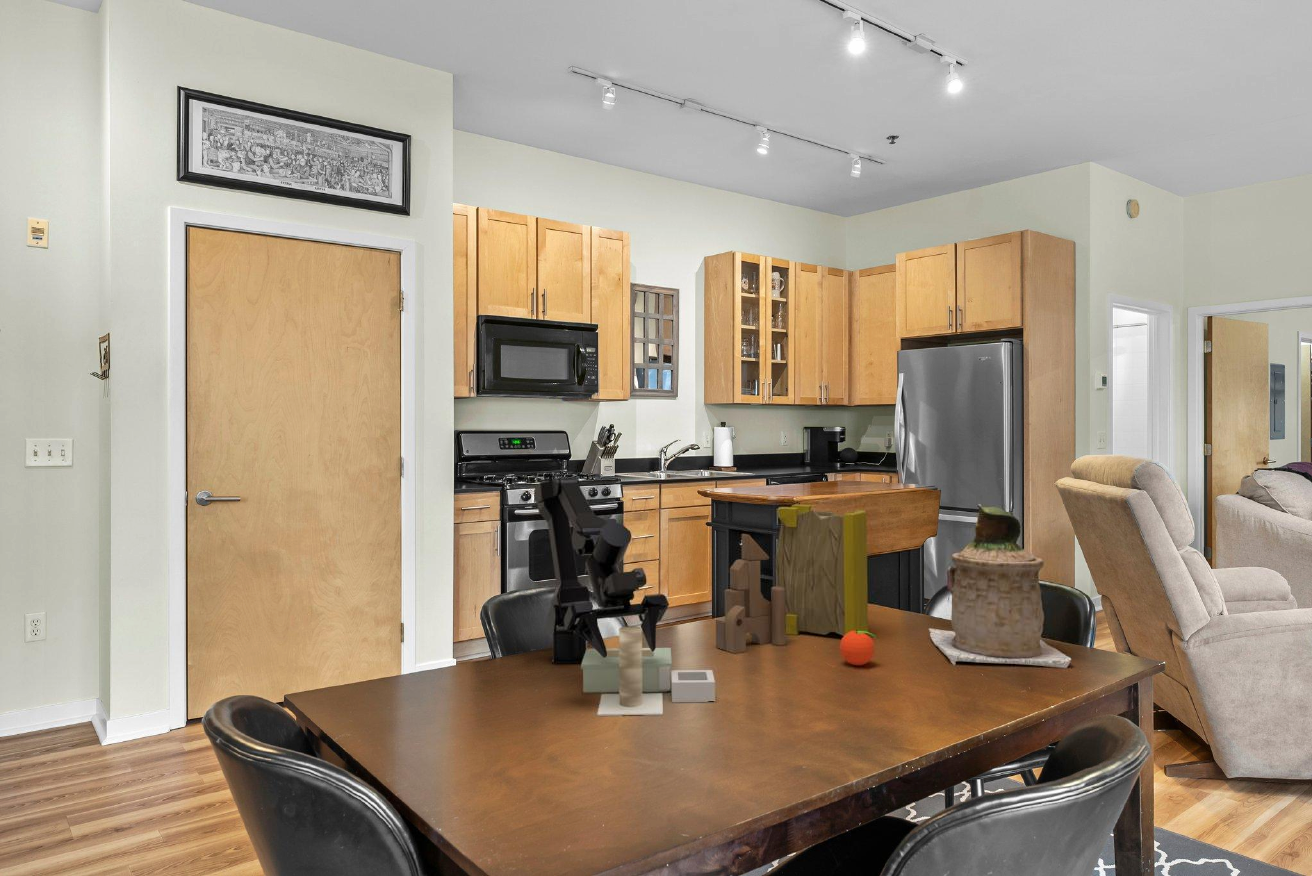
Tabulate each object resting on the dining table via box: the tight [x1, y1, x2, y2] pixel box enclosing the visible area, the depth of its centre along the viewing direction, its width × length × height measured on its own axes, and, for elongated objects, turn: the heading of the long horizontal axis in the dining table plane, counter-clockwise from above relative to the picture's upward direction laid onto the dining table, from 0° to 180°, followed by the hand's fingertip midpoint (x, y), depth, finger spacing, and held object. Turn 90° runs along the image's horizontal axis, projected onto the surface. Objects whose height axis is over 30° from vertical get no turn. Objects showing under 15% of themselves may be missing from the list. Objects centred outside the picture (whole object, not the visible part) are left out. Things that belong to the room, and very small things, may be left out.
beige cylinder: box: [618, 625, 643, 707], centre depth 143 cm, size 4×4×13 cm
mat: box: [596, 692, 664, 717], centre depth 143 cm, size 11×11×1 cm
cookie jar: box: [928, 503, 1072, 669], centre depth 176 cm, size 25×25×32 cm
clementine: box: [839, 630, 875, 667], centre depth 167 cm, size 8×7×7 cm
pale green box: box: [580, 647, 716, 703], centre depth 153 cm, size 24×18×6 cm
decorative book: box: [775, 504, 869, 637], centre depth 195 cm, size 20×11×30 cm, turn 58°
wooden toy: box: [715, 533, 787, 654], centre depth 183 cm, size 15×7×25 cm, turn 121°
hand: (630, 653), depth 143 cm, fingers open, 9 cm apart
